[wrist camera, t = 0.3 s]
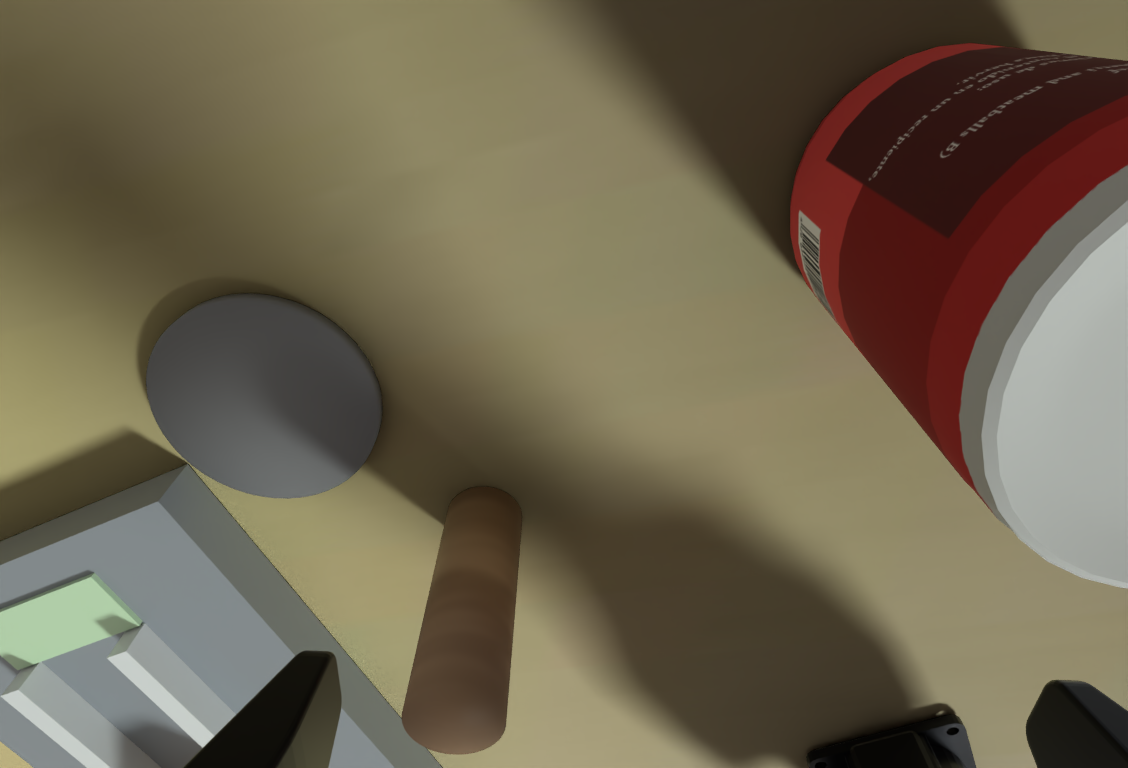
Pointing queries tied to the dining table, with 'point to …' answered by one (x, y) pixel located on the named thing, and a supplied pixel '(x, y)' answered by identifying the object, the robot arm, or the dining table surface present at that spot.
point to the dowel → (467, 628)
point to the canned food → (990, 275)
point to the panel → (159, 637)
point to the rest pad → (264, 395)
